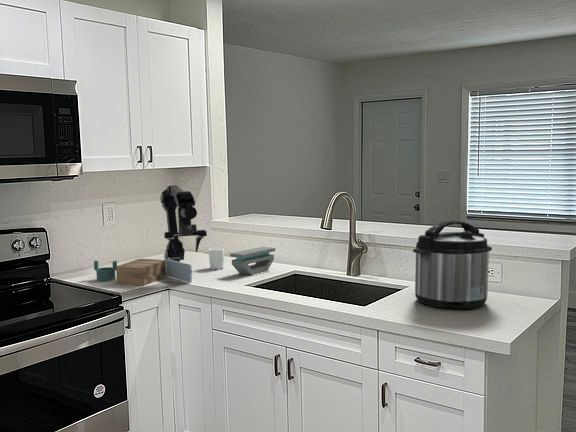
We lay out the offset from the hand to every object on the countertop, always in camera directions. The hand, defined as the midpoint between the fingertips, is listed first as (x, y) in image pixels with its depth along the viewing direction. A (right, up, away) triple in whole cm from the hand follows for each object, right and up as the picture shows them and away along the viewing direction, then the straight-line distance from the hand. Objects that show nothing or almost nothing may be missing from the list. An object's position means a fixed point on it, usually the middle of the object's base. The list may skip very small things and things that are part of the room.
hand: (186, 253), depth 266 cm
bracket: (-38, -13, +5) cm, 41 cm away
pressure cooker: (+109, -17, -40) cm, 117 cm away
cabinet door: (-4, -12, +4) cm, 13 cm away
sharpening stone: (+30, -11, +19) cm, 37 cm away
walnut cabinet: (-21, -13, +3) cm, 25 cm away
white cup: (+10, -10, +30) cm, 33 cm away
